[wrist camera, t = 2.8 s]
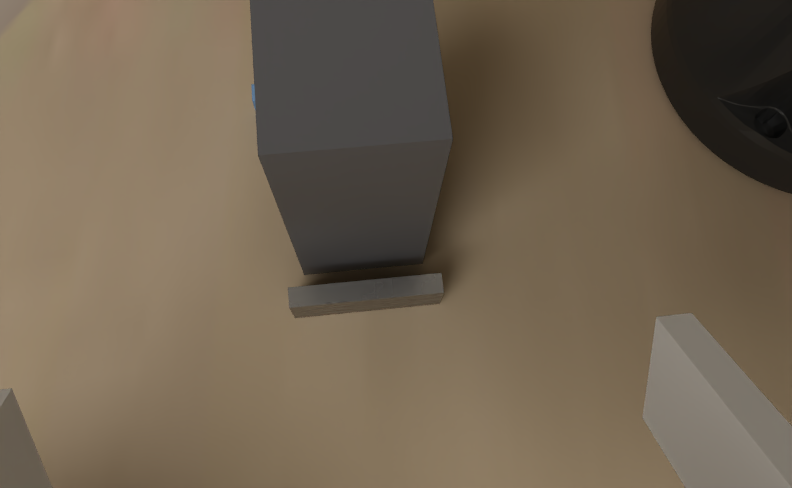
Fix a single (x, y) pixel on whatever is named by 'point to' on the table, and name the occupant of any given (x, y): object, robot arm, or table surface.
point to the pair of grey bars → (365, 295)
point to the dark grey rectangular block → (351, 126)
